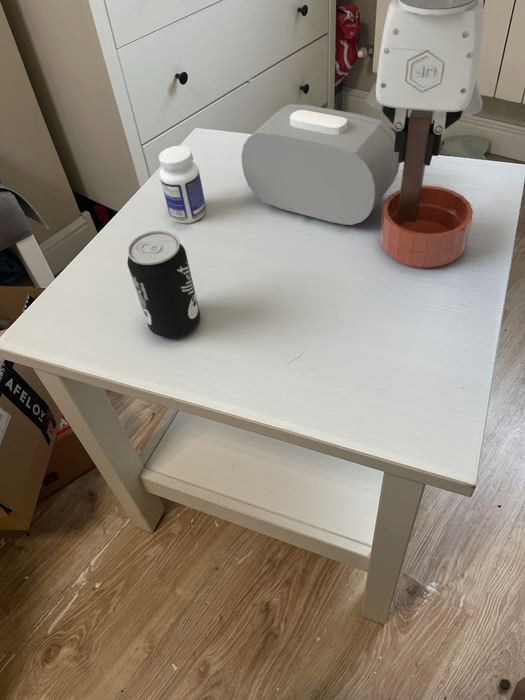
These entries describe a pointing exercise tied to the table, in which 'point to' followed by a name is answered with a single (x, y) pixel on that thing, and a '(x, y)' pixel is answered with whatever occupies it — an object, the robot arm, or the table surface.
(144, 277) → the beverage can
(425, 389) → the table surface
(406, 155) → the stick
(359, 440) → the table surface
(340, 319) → the table surface
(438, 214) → the bowl
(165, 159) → the pill bottle
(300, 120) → the alarm clock
